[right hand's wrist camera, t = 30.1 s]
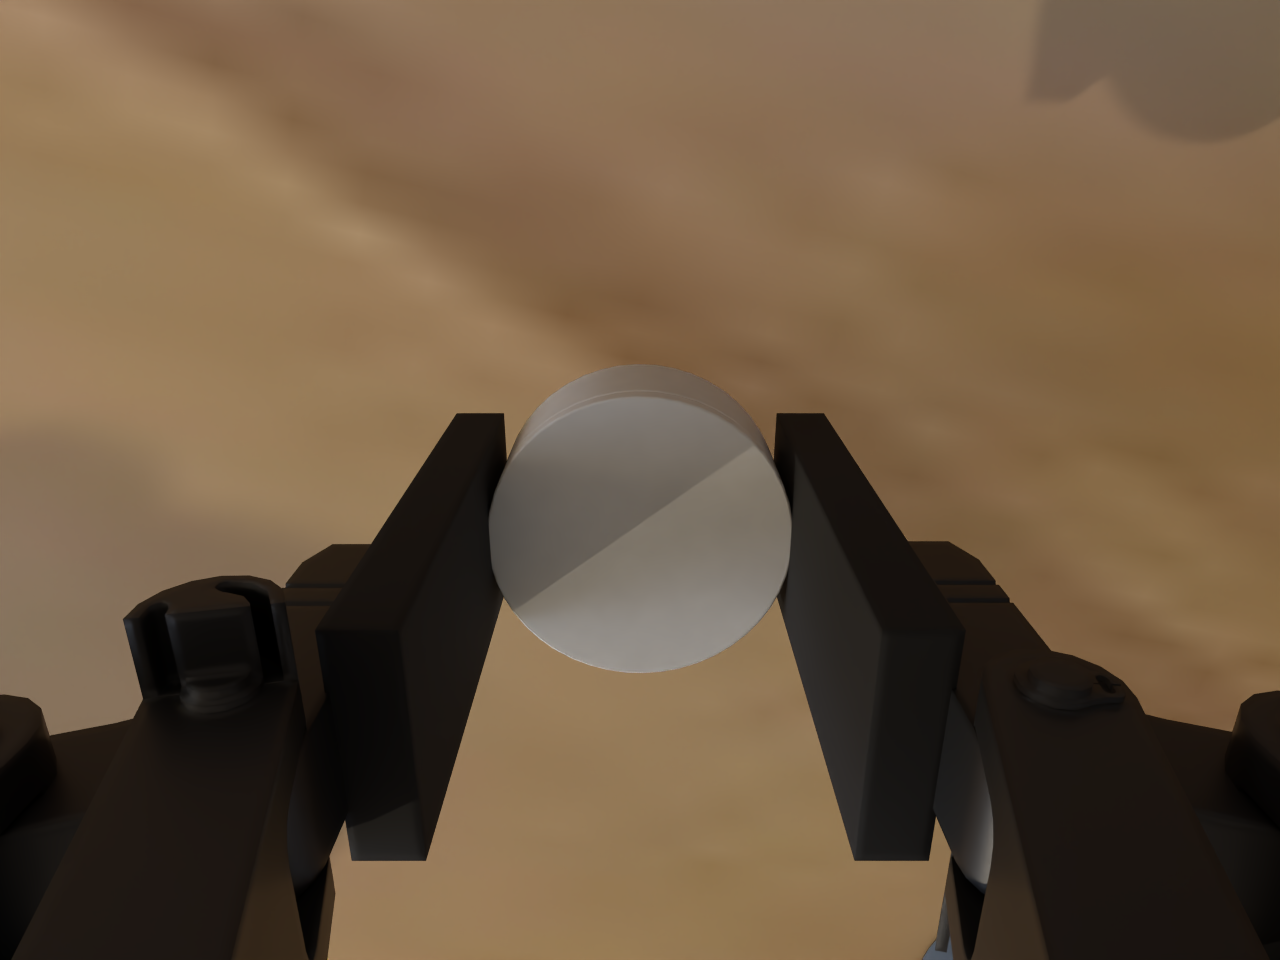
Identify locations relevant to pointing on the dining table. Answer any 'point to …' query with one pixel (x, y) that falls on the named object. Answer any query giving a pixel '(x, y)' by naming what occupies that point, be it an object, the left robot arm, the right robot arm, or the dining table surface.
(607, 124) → the dining table surface
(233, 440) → the dining table surface
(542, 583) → the cap
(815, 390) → the dining table surface
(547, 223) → the dining table surface
